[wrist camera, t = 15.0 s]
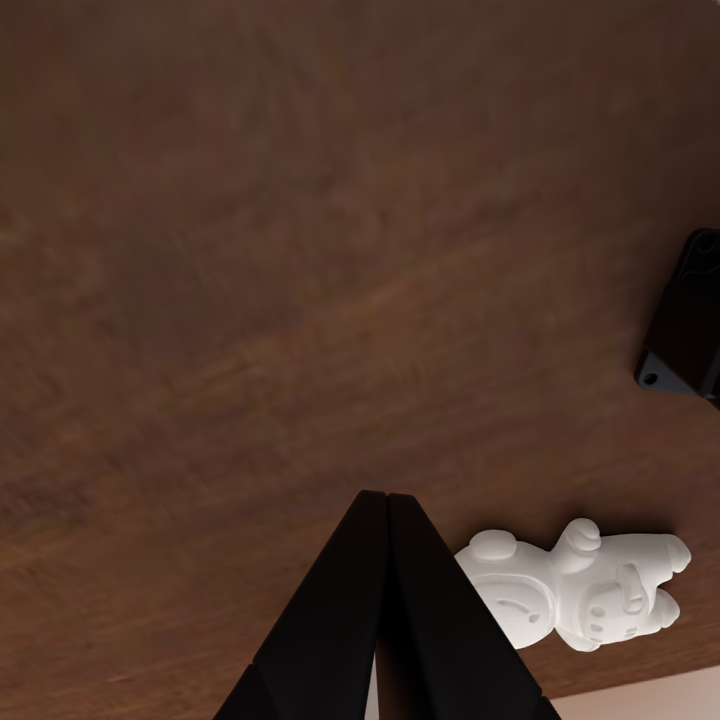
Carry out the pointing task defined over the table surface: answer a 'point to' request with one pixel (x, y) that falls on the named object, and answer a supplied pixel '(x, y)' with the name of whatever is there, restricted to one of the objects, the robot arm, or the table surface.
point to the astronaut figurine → (576, 584)
